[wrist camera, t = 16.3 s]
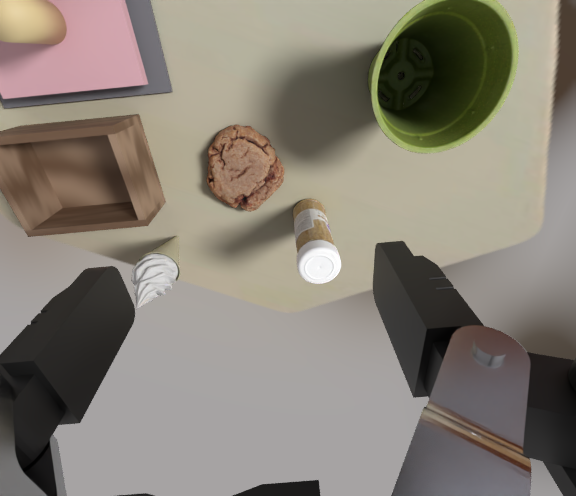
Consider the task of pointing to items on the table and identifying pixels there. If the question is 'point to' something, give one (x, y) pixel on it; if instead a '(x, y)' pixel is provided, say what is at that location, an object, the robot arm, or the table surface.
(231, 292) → the table surface
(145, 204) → the box
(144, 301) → the ice cream cone
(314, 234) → the sprinkles bottle
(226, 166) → the cookie
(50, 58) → the lid
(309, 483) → the robot arm
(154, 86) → the mat
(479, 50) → the plant pot
